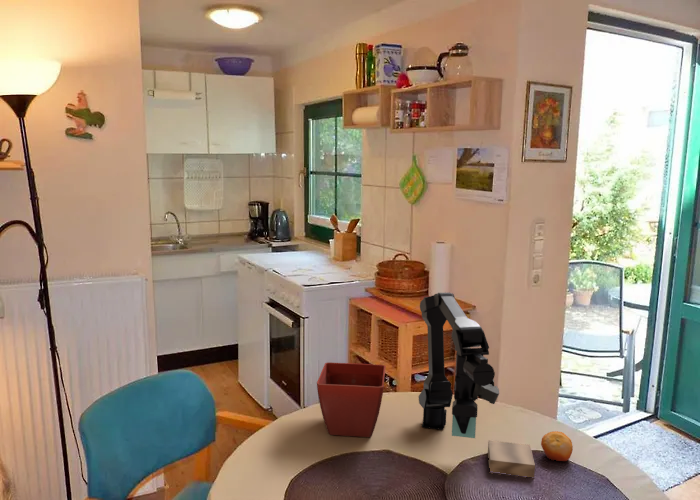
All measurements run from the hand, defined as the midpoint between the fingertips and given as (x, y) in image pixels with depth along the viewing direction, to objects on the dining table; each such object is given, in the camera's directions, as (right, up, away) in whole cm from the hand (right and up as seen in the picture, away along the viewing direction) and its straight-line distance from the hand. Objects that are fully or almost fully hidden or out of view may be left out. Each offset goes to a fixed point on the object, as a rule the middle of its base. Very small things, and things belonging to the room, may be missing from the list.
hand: (463, 428), depth 149 cm
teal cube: (0, -1, 0) cm, 1 cm away
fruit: (+26, -10, +4) cm, 28 cm away
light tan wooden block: (+12, -10, 0) cm, 16 cm away
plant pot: (-30, -6, +20) cm, 37 cm away
